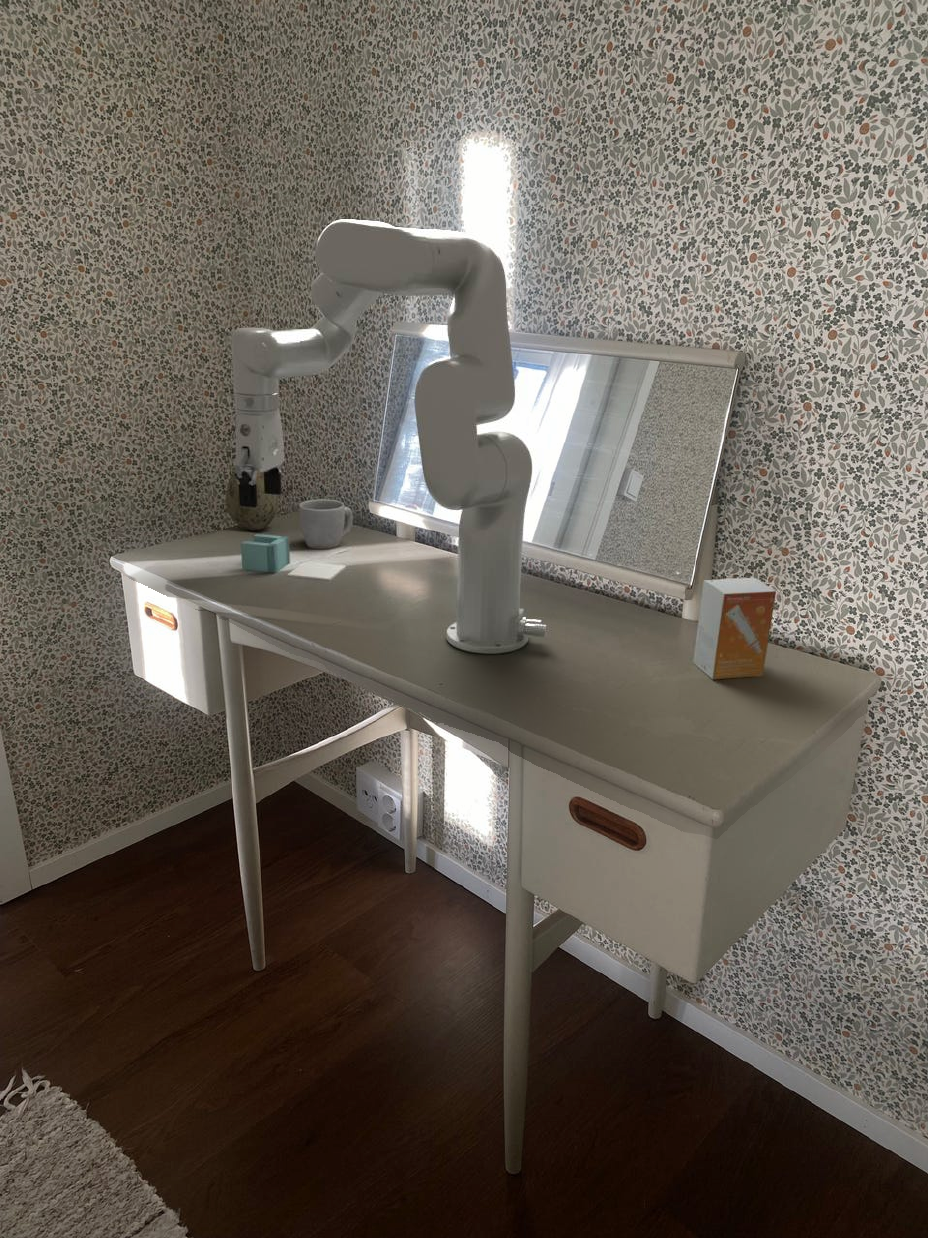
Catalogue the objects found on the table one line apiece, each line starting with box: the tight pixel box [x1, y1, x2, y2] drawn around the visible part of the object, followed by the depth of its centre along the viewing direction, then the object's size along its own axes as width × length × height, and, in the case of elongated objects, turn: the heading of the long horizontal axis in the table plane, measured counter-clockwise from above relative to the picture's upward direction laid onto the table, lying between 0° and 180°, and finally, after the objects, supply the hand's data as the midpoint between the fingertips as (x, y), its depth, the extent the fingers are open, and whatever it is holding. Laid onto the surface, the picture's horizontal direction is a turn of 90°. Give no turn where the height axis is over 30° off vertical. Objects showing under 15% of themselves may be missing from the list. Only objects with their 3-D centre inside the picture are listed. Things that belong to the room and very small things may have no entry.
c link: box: [240, 533, 291, 574], centre depth 169 cm, size 6×6×5 cm
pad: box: [287, 561, 347, 582], centre depth 168 cm, size 8×8×1 cm
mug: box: [298, 498, 354, 550], centre depth 184 cm, size 12×9×10 cm
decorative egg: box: [225, 469, 279, 532], centre depth 196 cm, size 11×11×15 cm
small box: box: [693, 577, 777, 680], centre depth 132 cm, size 8×6×13 cm
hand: (261, 499), depth 166 cm, fingers open, 9 cm apart
